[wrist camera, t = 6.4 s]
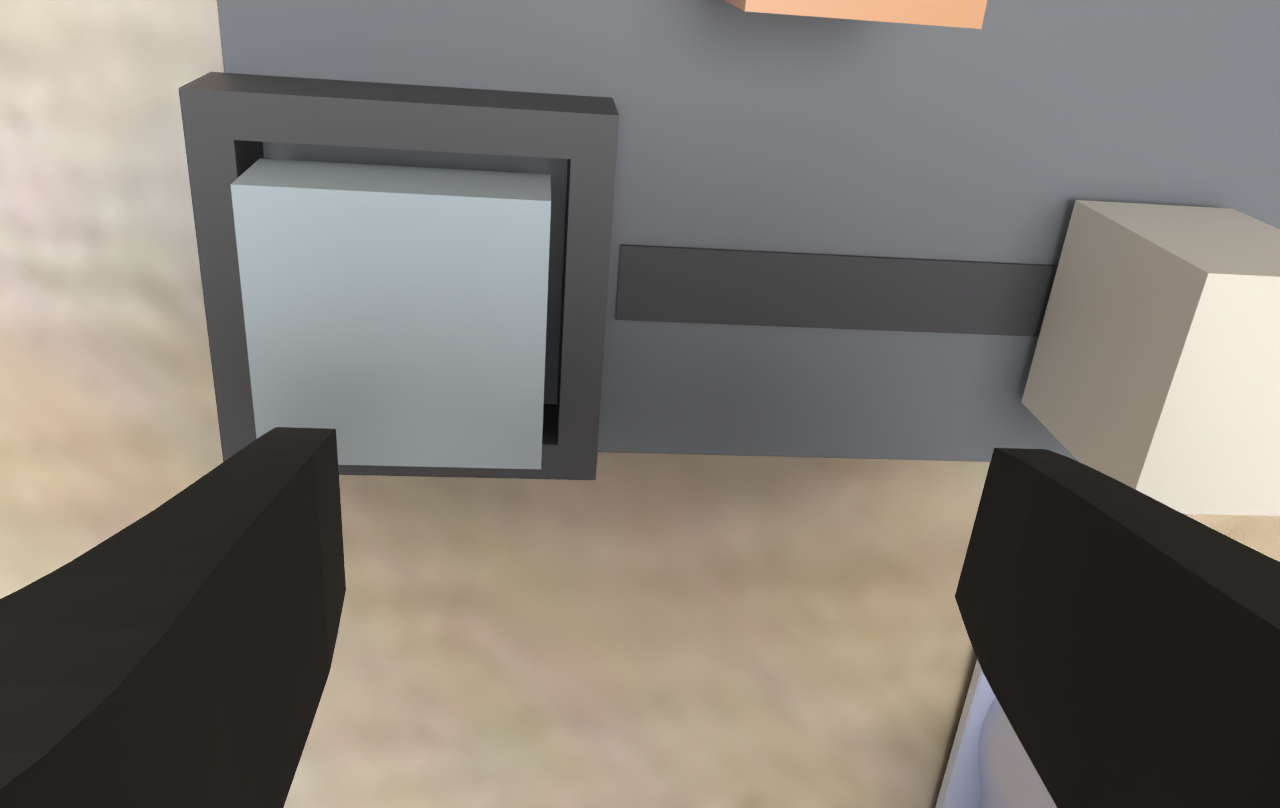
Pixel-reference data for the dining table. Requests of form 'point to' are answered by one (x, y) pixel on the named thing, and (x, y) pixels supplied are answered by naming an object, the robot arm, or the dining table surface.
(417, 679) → the dining table surface
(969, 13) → the terracotta slider
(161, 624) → the robot arm
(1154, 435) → the ivory slider
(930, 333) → the control board
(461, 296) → the grey button
